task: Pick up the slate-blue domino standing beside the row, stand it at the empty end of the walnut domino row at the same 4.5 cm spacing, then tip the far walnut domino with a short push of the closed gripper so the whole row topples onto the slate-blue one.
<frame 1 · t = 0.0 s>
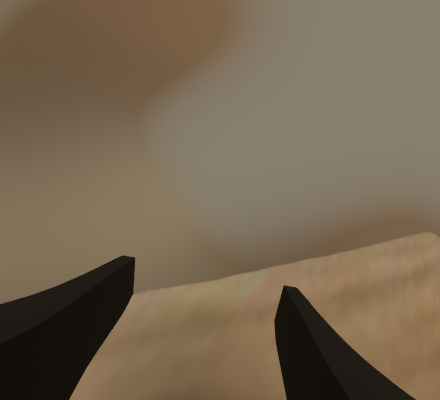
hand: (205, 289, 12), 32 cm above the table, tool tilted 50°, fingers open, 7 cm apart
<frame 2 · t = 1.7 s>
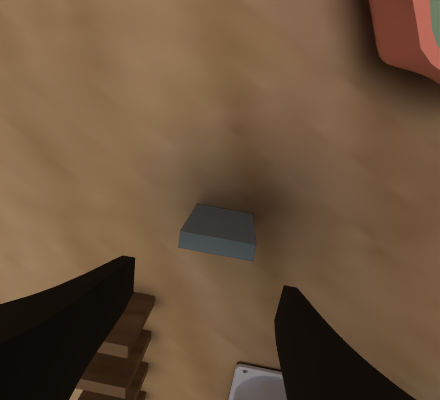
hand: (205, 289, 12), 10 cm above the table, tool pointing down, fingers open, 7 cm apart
domino 4: (130, 296, 25), on the table
domino 1: (124, 391, 29), on the table
domino 2: (126, 362, 28), on the table
domino 3: (128, 331, 26), on the table
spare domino: (223, 215, 22), on the table
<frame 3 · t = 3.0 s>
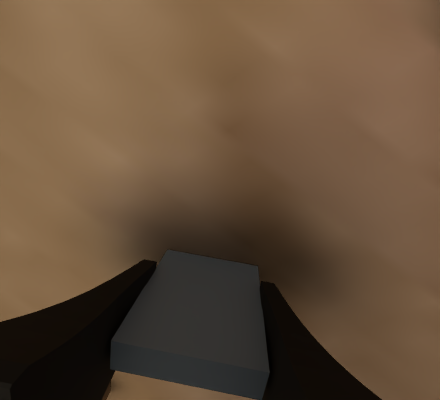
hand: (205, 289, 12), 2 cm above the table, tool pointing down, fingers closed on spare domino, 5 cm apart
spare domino: (210, 267, 13), on the table, touching gripper
when the fingers open (3 cm above the table, at t = 7.8 s): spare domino drops 1 cm, on the table.
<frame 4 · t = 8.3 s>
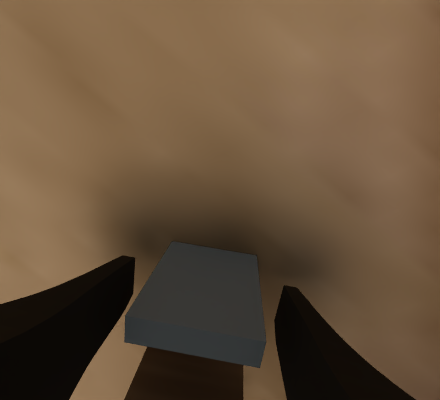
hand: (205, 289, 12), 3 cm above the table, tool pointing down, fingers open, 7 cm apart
domino 4: (202, 318, 16), on the table
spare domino: (212, 257, 14), on the table
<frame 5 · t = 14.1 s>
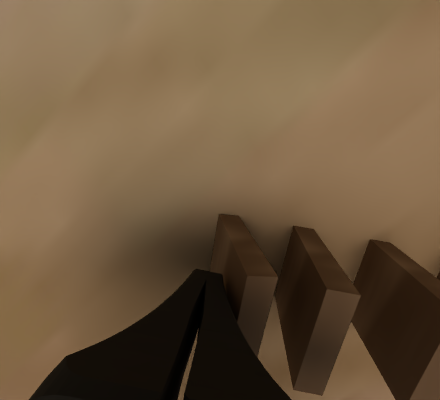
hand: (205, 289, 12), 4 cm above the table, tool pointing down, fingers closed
domino 1: (222, 252, 15), on the table, tilted 15°
domino 2: (293, 264, 15), on the table
domino 3: (366, 277, 15), on the table
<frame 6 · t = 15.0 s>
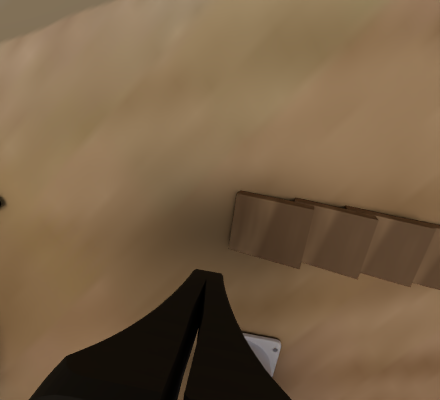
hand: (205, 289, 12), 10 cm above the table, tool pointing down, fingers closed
domino 4: (393, 247, 20), on the table, tilted 80°, touching domino 3
domino 1: (234, 219, 21), point 1 cm above the table, tilted 75°, touching domino 2
domino 2: (288, 227, 21), point 1 cm above the table, tilted 73°, touching domino 1, domino 3
domino 3: (337, 234, 21), on the table, tilted 76°, touching domino 2, domino 4
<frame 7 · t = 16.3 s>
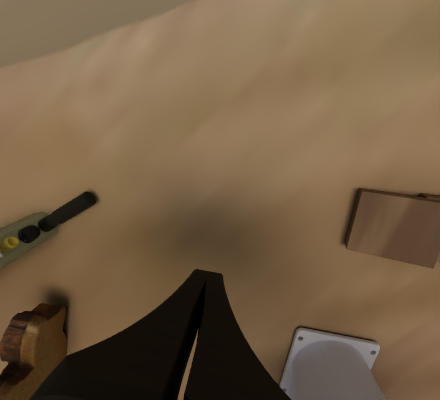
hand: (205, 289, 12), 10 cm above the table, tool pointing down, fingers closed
handheld radio: (8, 248, 25), on the table
domino 1: (352, 218, 20), point 1 cm above the table, tilted 75°, touching domino 2
wooden carving: (59, 343, 28), on the table
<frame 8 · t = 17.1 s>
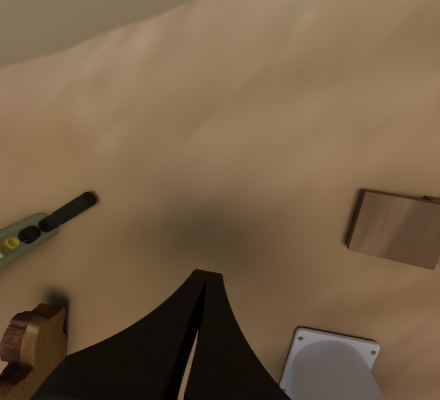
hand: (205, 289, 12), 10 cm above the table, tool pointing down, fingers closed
handheld radio: (9, 249, 25), on the table
domino 1: (355, 219, 20), point 1 cm above the table, tilted 76°, touching domino 2
wooden carving: (59, 343, 28), on the table
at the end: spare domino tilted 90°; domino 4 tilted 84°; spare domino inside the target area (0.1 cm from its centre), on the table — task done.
